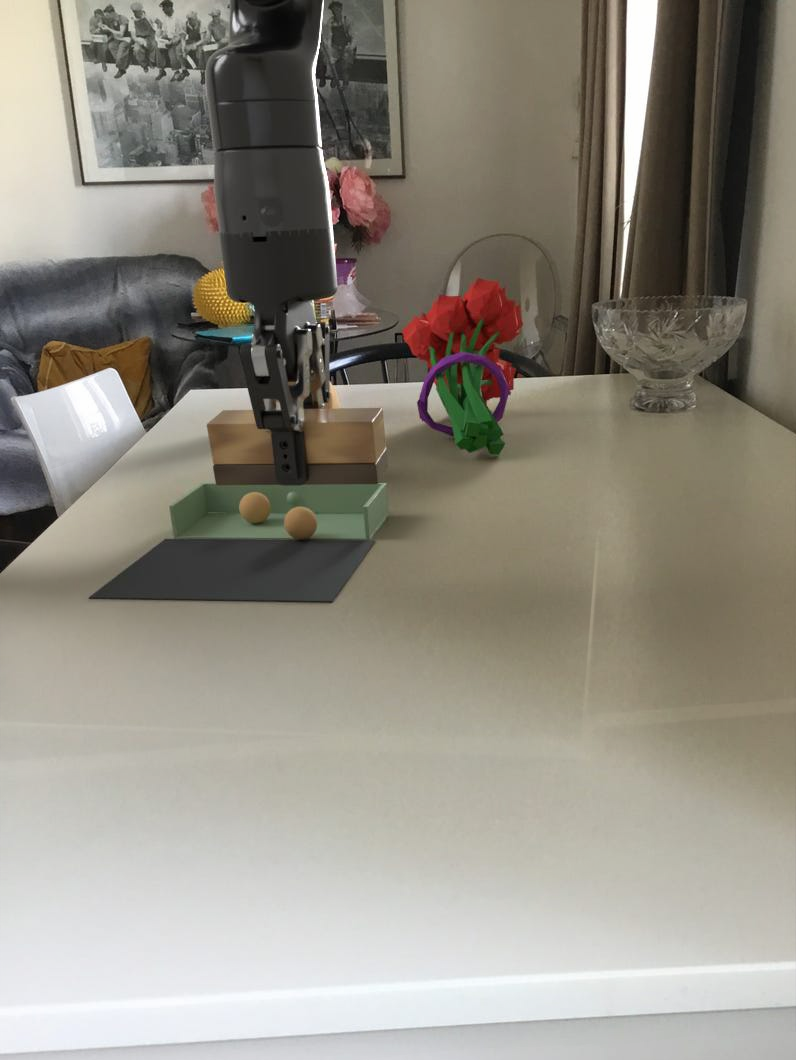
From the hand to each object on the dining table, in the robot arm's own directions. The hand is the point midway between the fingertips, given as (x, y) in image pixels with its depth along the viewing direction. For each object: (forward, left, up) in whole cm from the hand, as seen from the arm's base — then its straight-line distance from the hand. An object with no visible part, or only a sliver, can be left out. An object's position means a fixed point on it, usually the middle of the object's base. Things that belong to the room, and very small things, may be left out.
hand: (301, 474), depth 77 cm
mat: (-9, +8, -10) cm, 16 cm away
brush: (0, 0, 0) cm, 0 cm away
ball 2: (-6, +16, -9) cm, 19 cm away
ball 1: (-12, +21, -9) cm, 26 cm away
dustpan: (-9, +25, -10) cm, 28 cm away
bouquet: (+4, +63, -11) cm, 64 cm away
